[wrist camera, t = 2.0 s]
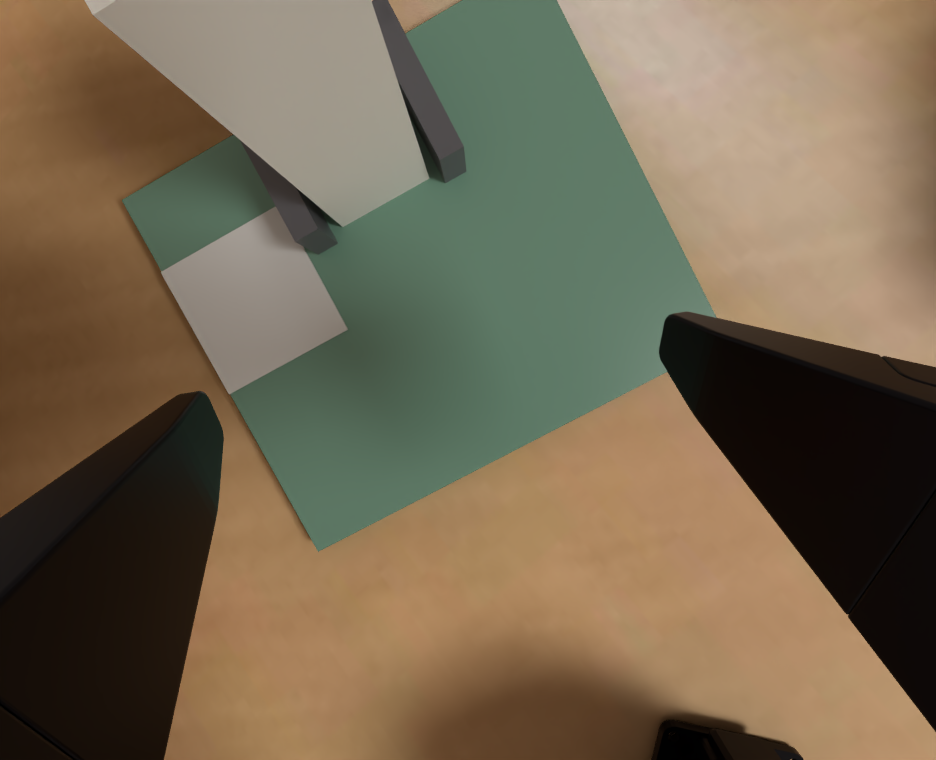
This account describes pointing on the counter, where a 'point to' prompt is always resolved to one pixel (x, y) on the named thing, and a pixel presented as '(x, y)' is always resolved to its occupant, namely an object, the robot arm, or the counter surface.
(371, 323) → the board
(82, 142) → the counter surface
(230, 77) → the white tall block
